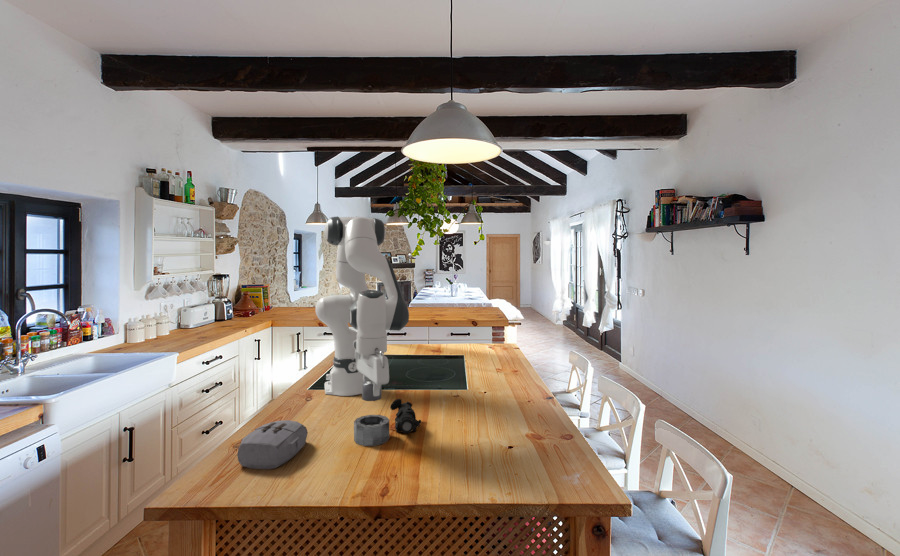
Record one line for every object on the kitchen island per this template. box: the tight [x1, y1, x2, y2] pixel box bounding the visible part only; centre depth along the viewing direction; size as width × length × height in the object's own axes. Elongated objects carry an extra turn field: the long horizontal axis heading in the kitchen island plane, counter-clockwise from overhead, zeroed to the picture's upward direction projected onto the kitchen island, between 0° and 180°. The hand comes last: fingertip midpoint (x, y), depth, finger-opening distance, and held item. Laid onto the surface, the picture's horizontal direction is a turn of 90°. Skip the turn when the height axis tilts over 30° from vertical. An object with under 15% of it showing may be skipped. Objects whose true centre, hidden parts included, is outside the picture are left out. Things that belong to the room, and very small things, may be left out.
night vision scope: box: [390, 398, 422, 434], centre depth 140 cm, size 8×18×10 cm
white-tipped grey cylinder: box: [361, 380, 382, 402], centre depth 131 cm, size 6×6×5 cm
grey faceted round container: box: [353, 414, 390, 447], centre depth 132 cm, size 10×10×6 cm
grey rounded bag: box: [236, 419, 309, 470], centre depth 122 cm, size 15×8×20 cm
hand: (371, 392), depth 131 cm, fingers closed on white-tipped grey cylinder, 6 cm apart
